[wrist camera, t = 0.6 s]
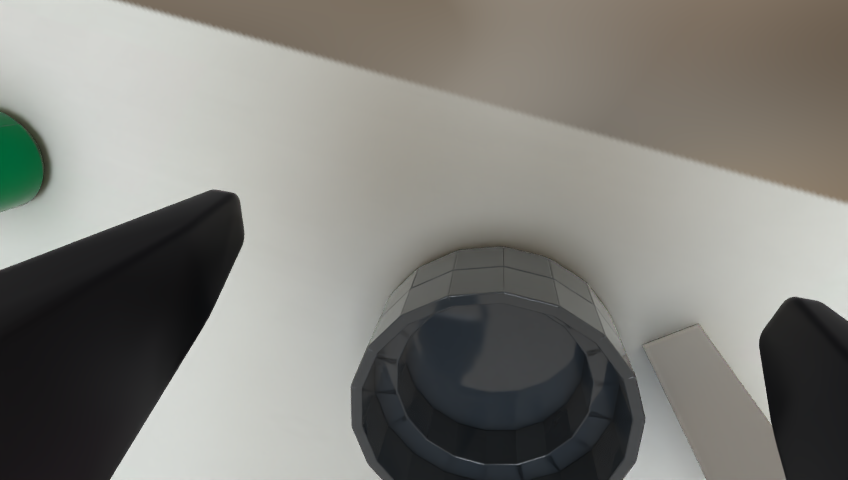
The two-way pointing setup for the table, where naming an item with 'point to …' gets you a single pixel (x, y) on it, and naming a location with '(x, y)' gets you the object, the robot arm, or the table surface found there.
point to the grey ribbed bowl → (496, 376)
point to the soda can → (18, 164)
